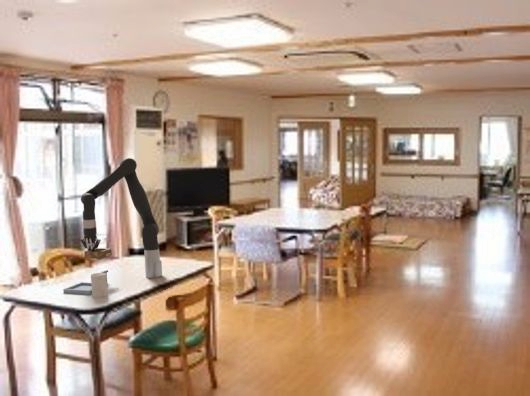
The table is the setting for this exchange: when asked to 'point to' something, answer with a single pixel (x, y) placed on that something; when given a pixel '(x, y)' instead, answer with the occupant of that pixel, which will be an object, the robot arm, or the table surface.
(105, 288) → the cup
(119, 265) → the table surface
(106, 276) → the stake
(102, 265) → the table surface
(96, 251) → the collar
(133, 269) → the table surface
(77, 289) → the tray
